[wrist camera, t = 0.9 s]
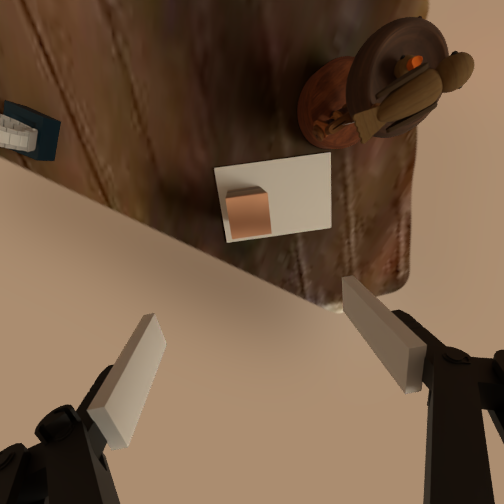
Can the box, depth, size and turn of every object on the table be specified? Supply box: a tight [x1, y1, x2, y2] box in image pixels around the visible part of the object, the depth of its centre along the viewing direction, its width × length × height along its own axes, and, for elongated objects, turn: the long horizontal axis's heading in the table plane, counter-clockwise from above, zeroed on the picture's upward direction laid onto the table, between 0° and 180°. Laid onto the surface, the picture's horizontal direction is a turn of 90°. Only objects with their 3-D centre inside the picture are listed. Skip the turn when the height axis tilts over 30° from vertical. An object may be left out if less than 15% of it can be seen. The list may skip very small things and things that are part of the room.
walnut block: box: [225, 186, 272, 239], centre depth 33 cm, size 5×5×10 cm
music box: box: [297, 16, 474, 149], centre depth 25 cm, size 15×11×20 cm
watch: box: [0, 100, 61, 161], centre depth 27 cm, size 6×8×11 cm
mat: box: [214, 152, 331, 243], centre depth 38 cm, size 12×18×1 cm, turn 97°
